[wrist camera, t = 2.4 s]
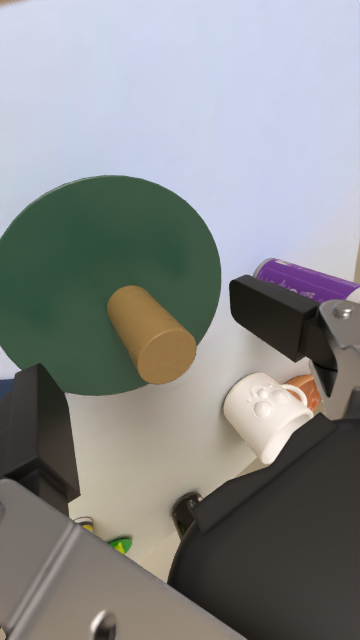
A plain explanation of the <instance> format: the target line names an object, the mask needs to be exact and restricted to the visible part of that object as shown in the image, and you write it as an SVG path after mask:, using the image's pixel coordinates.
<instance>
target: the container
mask: <svg viewBox="0 0 360 640" xmlns="http://www.w3.org/2000/svg"><path fill="white" fill-rule="evenodd" d="M253 277H254V278H257V279H259V280H261V281H266V282H272V283H274V284H277V285H279V286H282V288H286V289H289V290H290V291H293V292H296V293H298V294H301V295H303V296H305V297H308V298H310V299H313V300H315V301H317V302H320V303H323V302H325V301H328V300H335V299H341V300H349V301H353V302H356V303H358V304H360V284H356V283H353V282H350V281H347V280H343V279H340V278H337V277H334V276H330V275H327V274H324V273H321V272H317V271H314V270H311V269H308V268H305V267H301V266H298V265H295V264H292V263H288V262H285V261H282V260H279V259H275V258H269V259H267V260H265V261H263V262H262V263H261V264H260V265H259V266H258V268H257V269H256V271H255V273H254V276H253Z"/></svg>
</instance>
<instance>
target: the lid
mask: <svg viewBox="0 0 360 640" xmlns="http://www.w3.org/2000/svg"><path fill="white" fill-rule="evenodd" d="M220 290H221V265H220V258H219V254H218V250H217V247H216V244H215V241H214V239H213V237H212V234H211V232H210V231H209V229H208V227H207V225H206V224H205V222H204V221H203V219H202V218H201V217H200V216H199V214H198V213H197V212H196V211H195V210H194V209H193V208H192V207H191V206H190V205H189V204H188V203H187V202H186V201H185V200H184V199H182V198H181V197H179V196H178V195H177V194H175V193H174V192H172V191H170V190H168V189H166V188H164V187H163V186H161V185H159V184H156V183H153V182H150V181H147V180H144V179H140V178H134V177H129V176H116V175H103V176H96V177H88V178H82V179H79V180H75V181H72V182H69V183H66V184H63V185H61V186H59V187H57V188H55V189H53V190H50V191H48V192H46V193H45V194H43V195H42V196H40V197H39V198H38V199H36V200H35V201H33V202H32V203H30V204H29V205H28V206H27V207H26V208H25V209H24V210H23V211H22V212H21V213H20V214H19V215H18V216H17V217H16V218H15V219H14V220H13V221H12V223H11V224H10V226H9V227H8V228H7V230H6V231H5V233H4V234H3V235H2V237H1V239H0V346H1V347H2V349H3V350H4V351H5V353H6V354H7V356H8V357H9V358H10V359H11V360H12V361H13V362H14V363H15V364H16V365H17V366H18V367H19V368H20V369H21V370H24V369H27V368H29V367H31V366H34V365H36V364H38V363H41V364H42V365H43V366H44V367H45V368H46V369H47V371H48V372H49V374H50V375H51V376H52V378H53V379H54V380H55V382H56V383H57V385H58V386H59V387H60V389H61V390H62V391H64V392H67V393H72V394H79V395H90V396H100V395H112V394H118V393H123V392H127V391H131V390H134V389H137V388H140V387H143V386H145V385H147V384H149V383H151V384H164V383H168V382H171V381H173V380H175V379H177V378H178V377H180V376H181V375H182V374H183V373H185V372H186V370H187V369H188V368H189V367H190V365H191V364H192V362H193V360H194V358H195V355H196V348H197V345H198V344H199V343H200V341H201V340H202V338H203V337H204V335H205V334H206V332H207V330H208V328H209V326H210V324H211V322H212V320H213V317H214V315H215V312H216V309H217V306H218V302H219V297H220Z"/></svg>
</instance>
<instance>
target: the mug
mask: <svg viewBox="0 0 360 640" xmlns="http://www.w3.org/2000/svg"><path fill="white" fill-rule="evenodd" d="M286 389H287V390H292V391H294V392H296V393H297V394H298V395H299V396H300V398H301V402H300V401H299V400H298V399H297V398H295V397H294V396H293V395H292V394H291V393H289V392H288V391H287V390H286ZM223 410H224V415H225V417H226V419H227V420H228V421H229V422H230V424H231V425H232V426H233V427H234V429H235V430H236V431H237V432H238V434H239V435H240V436H241V437H242V439H243V440H244V441H245V442H246V444H247V445H248V446H249V447H250V449H251V450H252V451H253V452H254V453H255V455H256V456H257V457H258V458H259V459H260V461H261V462H262V463H264V464H270V463H273V462H274V460H275V459H276V457H277V456H278V454H279V453H280V451H281V450H282V448H283V447H284V445H285V444H286V442H287V441H288V439H289V438H290V436H291V435H292V433H293V432H294V431H295V430H297V429H298V428H299V427H301V426H302V425H303V424H305V423H306V422H307V421H309V420H310V419H311V418H313V412H312V411H311V410H310V409H309V408H308V407H307V398H306V396H305V394H304V393H303V391H301V390H300V389H299V388H297V387H295V386H293V385H289V384H282V385H280V384H278V383H277V382H276V381H275V380H273V379H272V378H271V377H270V376H268V375H267V374H265V373H253V374H250V375H248V376H246V377H244V378H243V379H241V380H240V381H239V382H238V383H236V384H235V385H234V387H233V388H232V389H231V390H230V392H229V393H228V395H227V397H226V399H225V402H224V408H223Z"/></svg>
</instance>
